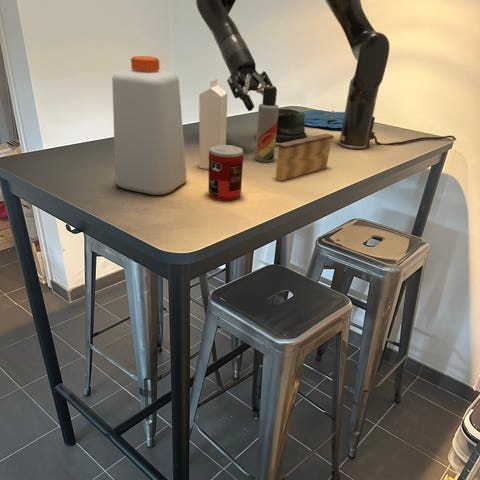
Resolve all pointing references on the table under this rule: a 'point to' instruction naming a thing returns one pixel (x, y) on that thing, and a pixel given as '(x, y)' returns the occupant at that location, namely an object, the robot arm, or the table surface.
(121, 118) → the plastic bottle
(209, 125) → the milk
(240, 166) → the canned food
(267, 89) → the lotion bottle
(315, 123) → the decorative plate
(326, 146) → the wall panel
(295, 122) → the chocolate cake
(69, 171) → the table surface
